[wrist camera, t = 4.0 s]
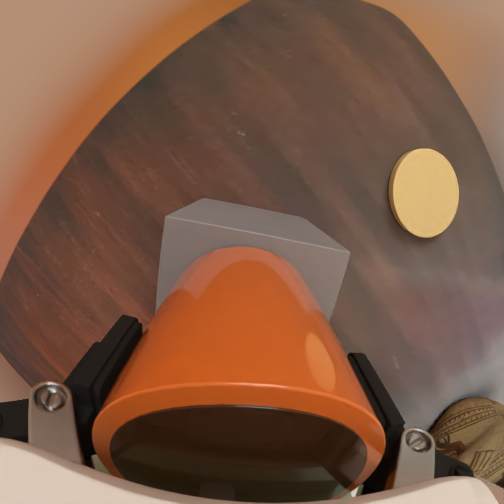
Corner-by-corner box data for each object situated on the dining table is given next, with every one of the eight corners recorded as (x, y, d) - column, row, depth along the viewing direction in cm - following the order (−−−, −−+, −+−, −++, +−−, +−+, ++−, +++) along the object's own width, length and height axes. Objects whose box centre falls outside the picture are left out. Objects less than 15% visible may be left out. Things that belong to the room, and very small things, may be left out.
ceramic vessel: (393, 446, 35) (447, 575, 6) (486, 366, 31) (577, 471, 2) (422, 464, 39) (465, 557, 10) (495, 402, 35) (557, 483, 6)
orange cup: (176, 232, 13) (62, 337, 4) (332, 262, 13) (442, 387, 4) (164, 361, 14) (114, 499, 6) (292, 382, 15) (321, 521, 6)
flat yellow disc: (396, 136, 23) (401, 135, 22) (459, 165, 23) (464, 166, 22) (378, 224, 25) (383, 226, 24) (443, 243, 26) (448, 245, 25)
